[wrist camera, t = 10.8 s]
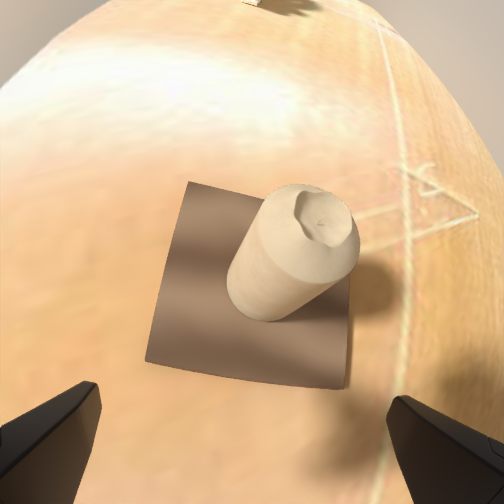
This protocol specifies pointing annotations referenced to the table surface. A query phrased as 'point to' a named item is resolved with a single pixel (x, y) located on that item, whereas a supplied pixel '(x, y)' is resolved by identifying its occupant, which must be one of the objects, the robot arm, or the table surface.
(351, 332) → the table surface
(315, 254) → the candle
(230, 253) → the walnut slab
